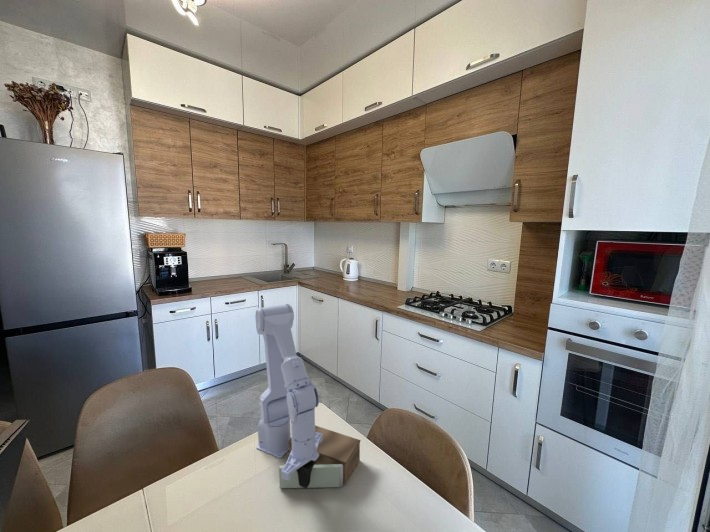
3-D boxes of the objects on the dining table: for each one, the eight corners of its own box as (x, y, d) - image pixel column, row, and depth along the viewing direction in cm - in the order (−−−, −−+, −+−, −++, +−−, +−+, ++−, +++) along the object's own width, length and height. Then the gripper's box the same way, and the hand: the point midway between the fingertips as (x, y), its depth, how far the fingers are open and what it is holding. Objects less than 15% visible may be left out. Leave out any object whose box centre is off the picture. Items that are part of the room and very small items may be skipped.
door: (343, 483, 76) (343, 463, 75) (343, 489, 74) (342, 469, 73) (280, 484, 76) (279, 465, 75) (278, 491, 74) (278, 471, 73)
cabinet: (288, 461, 84) (288, 441, 83) (306, 441, 92) (306, 422, 91) (346, 485, 76) (345, 462, 75) (360, 460, 84) (360, 440, 83)
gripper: (298, 459, 63) (300, 516, 65) (332, 421, 76) (333, 469, 78) (273, 449, 66) (275, 504, 68) (309, 414, 79) (310, 460, 81)
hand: (304, 485), depth 73 cm, fingers closed
